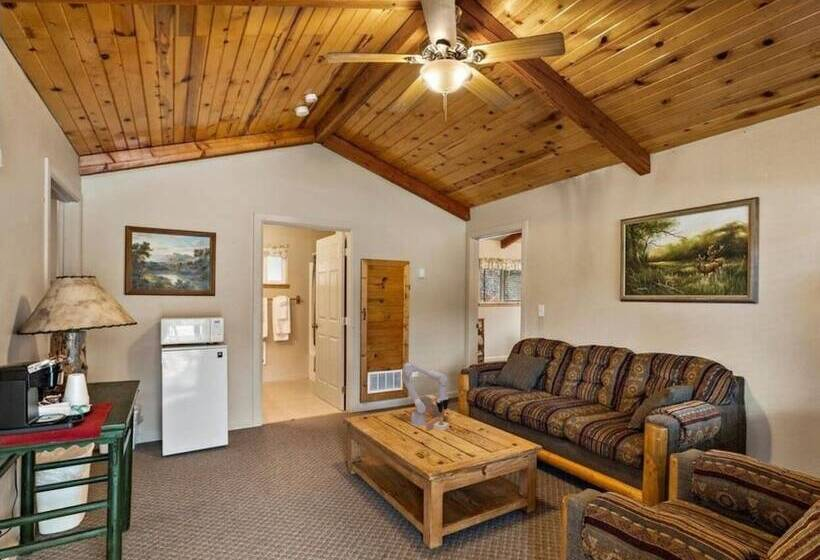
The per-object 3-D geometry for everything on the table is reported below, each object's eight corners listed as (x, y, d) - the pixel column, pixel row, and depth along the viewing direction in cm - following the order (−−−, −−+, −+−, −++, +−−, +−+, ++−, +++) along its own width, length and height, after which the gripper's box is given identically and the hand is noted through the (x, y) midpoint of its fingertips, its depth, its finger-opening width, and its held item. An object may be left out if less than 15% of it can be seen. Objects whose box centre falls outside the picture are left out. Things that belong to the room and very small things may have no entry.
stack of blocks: (444, 416, 319) (444, 400, 319) (437, 418, 316) (437, 401, 316) (430, 409, 338) (430, 394, 338) (423, 410, 335) (423, 395, 335)
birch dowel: (438, 428, 291) (438, 417, 291) (440, 427, 293) (440, 416, 293) (442, 428, 290) (442, 418, 290) (443, 427, 292) (443, 417, 292)
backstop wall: (426, 430, 286) (426, 423, 286) (439, 422, 303) (439, 415, 303) (429, 431, 285) (429, 423, 285) (442, 422, 302) (442, 415, 302)
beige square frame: (433, 428, 290) (433, 424, 290) (438, 425, 297) (438, 421, 297) (444, 430, 286) (444, 426, 286) (449, 426, 293) (449, 423, 293)
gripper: (443, 394, 293) (443, 414, 293) (452, 389, 305) (452, 409, 305) (434, 393, 296) (434, 412, 296) (443, 388, 309) (443, 407, 309)
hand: (442, 410), depth 301 cm, fingers open, 7 cm apart
